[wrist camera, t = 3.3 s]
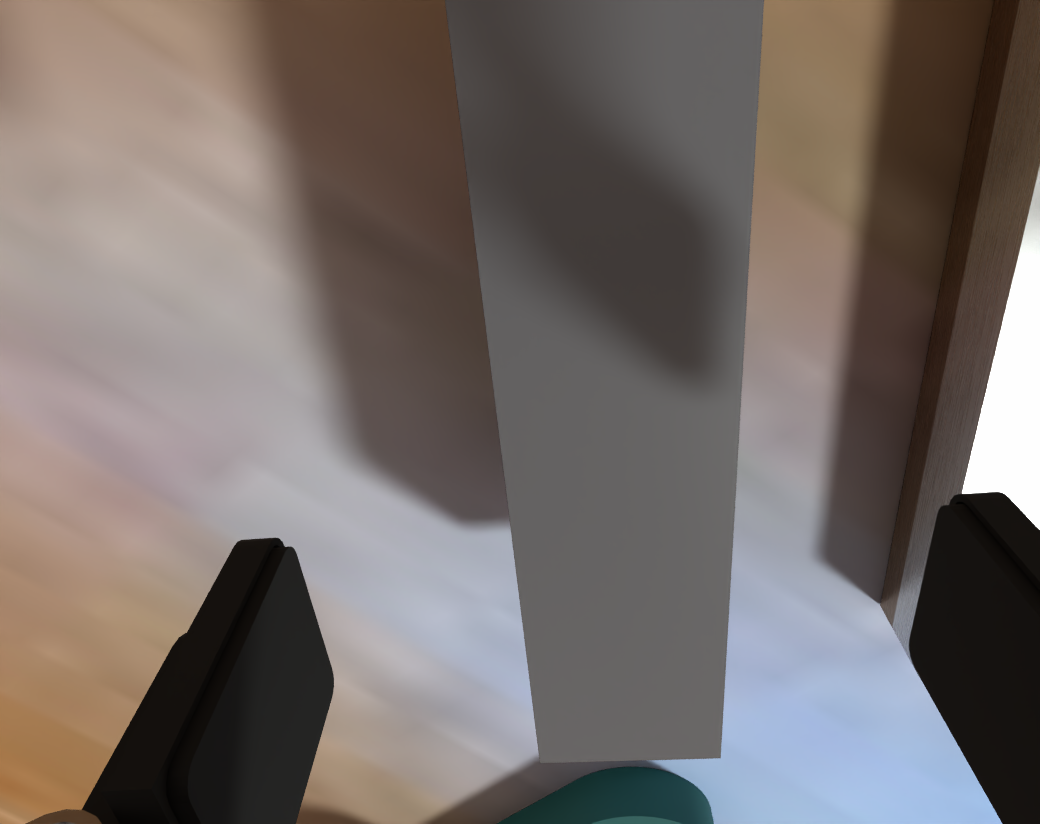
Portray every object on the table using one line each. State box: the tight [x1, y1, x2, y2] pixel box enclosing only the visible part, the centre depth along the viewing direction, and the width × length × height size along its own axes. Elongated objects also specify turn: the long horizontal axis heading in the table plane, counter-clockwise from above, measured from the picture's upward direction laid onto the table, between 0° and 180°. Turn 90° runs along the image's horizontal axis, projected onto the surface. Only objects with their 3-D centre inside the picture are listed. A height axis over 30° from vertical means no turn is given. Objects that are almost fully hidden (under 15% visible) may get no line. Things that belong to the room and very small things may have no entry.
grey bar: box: [445, 0, 764, 763], centre depth 17 cm, size 4×18×7 cm, turn 5°
